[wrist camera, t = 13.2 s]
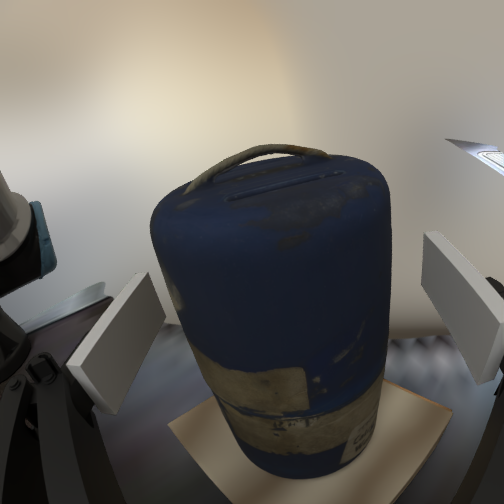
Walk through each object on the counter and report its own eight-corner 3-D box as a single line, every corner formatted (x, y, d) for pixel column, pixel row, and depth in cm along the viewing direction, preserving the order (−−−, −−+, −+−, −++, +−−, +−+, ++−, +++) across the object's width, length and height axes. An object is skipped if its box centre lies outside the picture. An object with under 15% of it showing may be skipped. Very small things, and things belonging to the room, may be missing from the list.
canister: (239, 390, 23) (164, 160, 16) (355, 365, 23) (336, 124, 15) (241, 496, 14) (81, 212, 7) (393, 464, 14) (440, 138, 7)
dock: (189, 452, 23) (167, 424, 21) (304, 369, 30) (299, 334, 28) (316, 575, 11) (313, 574, 8) (439, 441, 18) (455, 409, 16)
